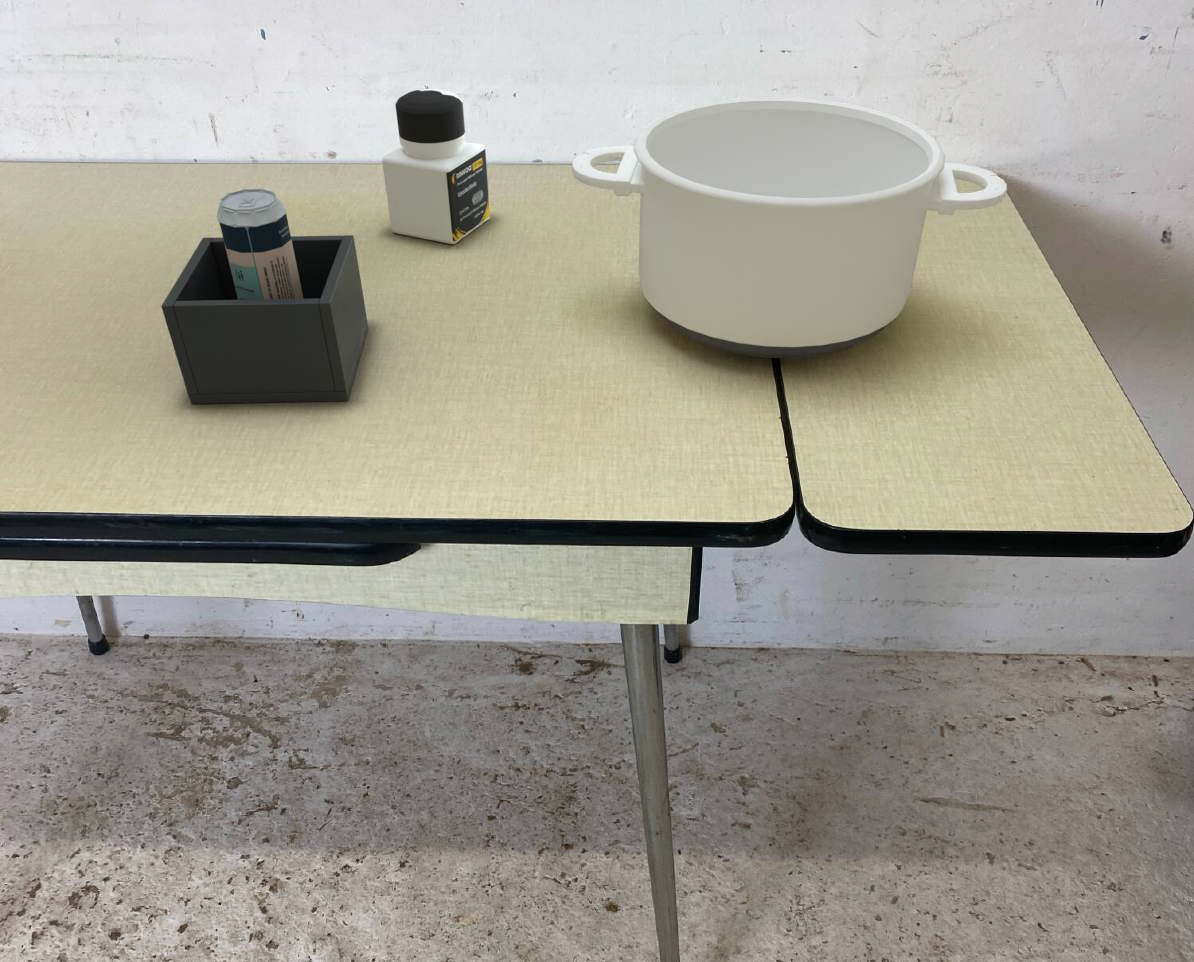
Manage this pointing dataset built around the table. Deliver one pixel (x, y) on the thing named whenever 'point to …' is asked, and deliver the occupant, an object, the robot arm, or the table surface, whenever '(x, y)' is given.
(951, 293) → the table surface
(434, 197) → the medicine bottle
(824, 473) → the table surface
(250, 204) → the beer can
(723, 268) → the pot
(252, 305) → the bin
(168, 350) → the table surface
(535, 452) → the table surface
